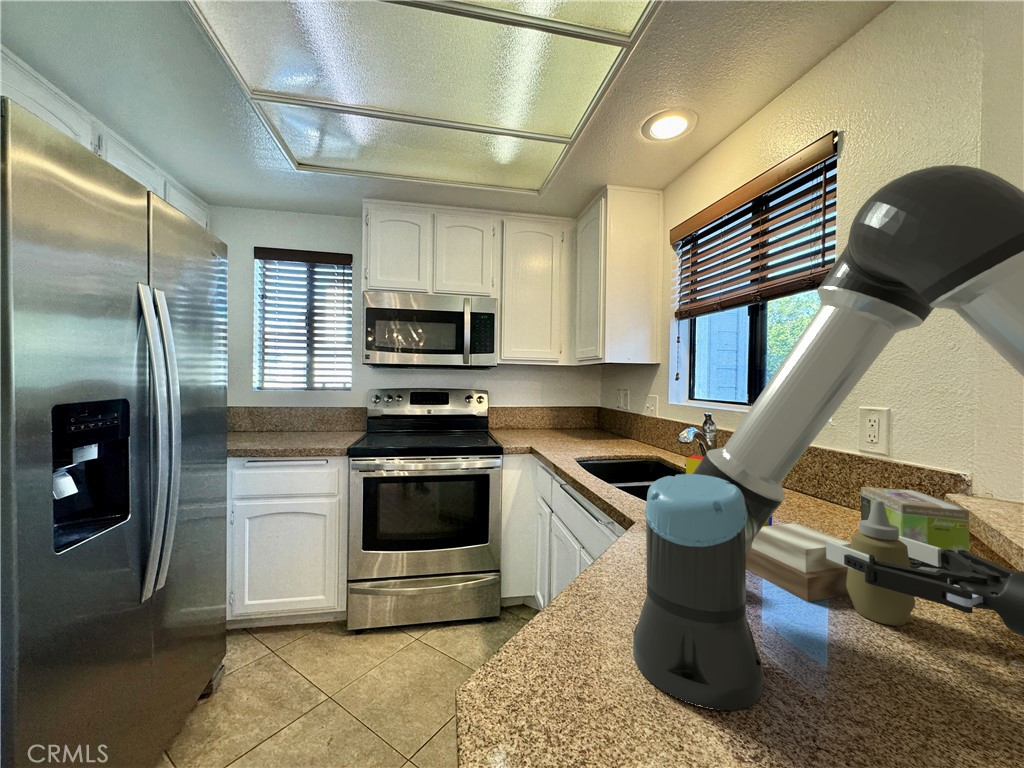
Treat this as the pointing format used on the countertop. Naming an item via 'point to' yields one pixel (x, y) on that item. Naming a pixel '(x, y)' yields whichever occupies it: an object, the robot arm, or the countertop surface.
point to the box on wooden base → (798, 561)
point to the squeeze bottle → (886, 548)
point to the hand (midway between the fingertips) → (859, 545)
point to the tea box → (921, 519)
